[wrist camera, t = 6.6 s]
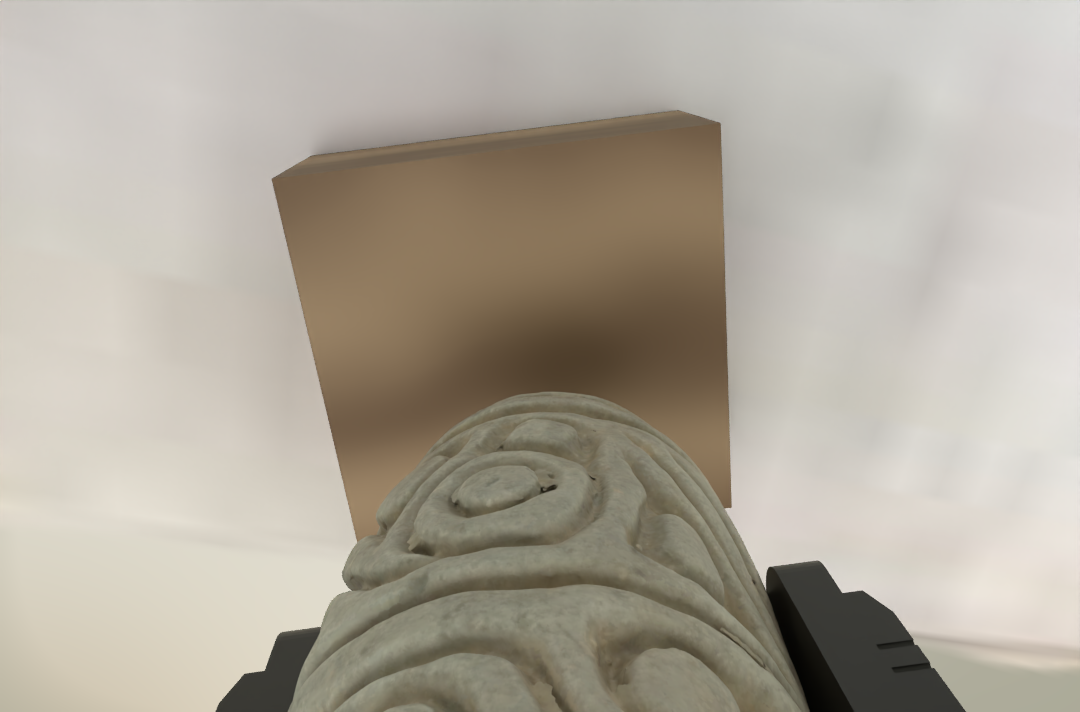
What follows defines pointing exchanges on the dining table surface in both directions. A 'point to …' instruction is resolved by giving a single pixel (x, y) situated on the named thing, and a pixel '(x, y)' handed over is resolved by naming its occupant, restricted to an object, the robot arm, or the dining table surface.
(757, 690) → the carving
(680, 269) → the walnut block
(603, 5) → the dining table surface
